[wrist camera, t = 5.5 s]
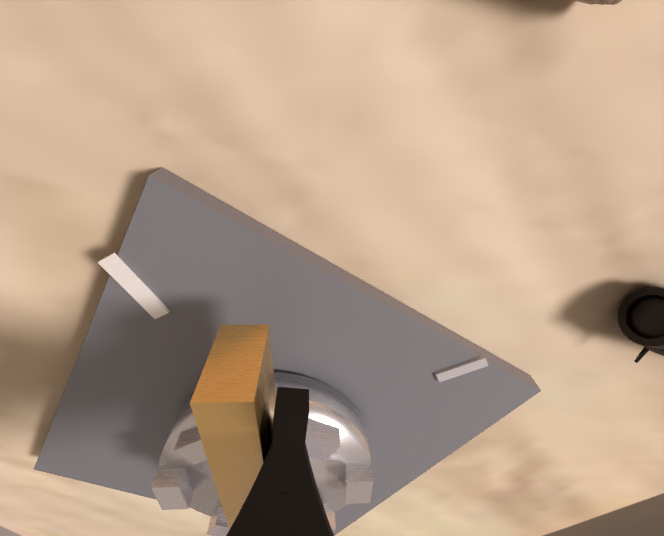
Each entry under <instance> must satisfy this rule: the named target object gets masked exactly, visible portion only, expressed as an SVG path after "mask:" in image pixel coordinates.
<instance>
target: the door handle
mask: <svg viewBox="0 0 664 536" xmlns="http://www.w3.org/2000/svg"><path fill="white" fill-rule="evenodd" d="M618 322H619V326H620V328H621V330H622V332H623V333H624V334H625V335H626V336H627V337H628V338H629V339H630V340H632V341H633V342H635V343H637V344H640V345H643V346H644V348H643V350H642V351H641V352H640V353H639V355H638V356H637V357H636V358H635V359H636V360H635V362H636V363H637V362H638V361H639V360H640V359H641V358H642V357H643V356H644V355H645V354H646V353H647V352H648V351H649V350H651V351H653V352H655V353H657V354H660V355H663V356H664V289H662V288H644V289H641V290H638V291H636V292H634V293H632V294H631V295H629V296H628V297H627V298H626V299H625V300H624V301H623V303H622V304H621V306H620V309H619V313H618Z"/></svg>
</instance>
